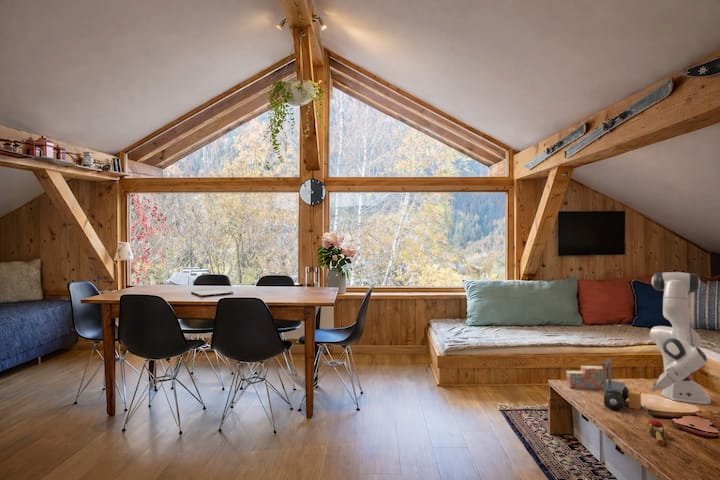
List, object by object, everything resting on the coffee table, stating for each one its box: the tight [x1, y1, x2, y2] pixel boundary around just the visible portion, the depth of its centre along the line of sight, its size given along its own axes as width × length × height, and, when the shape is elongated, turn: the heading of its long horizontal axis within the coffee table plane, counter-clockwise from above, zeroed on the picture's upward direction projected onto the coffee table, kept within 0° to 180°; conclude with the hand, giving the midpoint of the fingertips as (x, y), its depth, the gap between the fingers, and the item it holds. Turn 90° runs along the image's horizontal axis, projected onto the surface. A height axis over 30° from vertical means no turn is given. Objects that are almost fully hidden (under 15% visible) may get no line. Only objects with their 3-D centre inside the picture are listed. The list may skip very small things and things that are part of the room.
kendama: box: [647, 418, 668, 447], centre depth 199 cm, size 8×6×18 cm
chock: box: [628, 389, 642, 410], centre depth 237 cm, size 5×5×8 cm
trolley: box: [602, 357, 630, 412], centre depth 241 cm, size 10×21×23 cm, turn 141°
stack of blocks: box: [565, 365, 604, 390], centre depth 272 cm, size 21×6×12 cm, turn 86°
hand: (653, 387), depth 231 cm, fingers open, 8 cm apart
